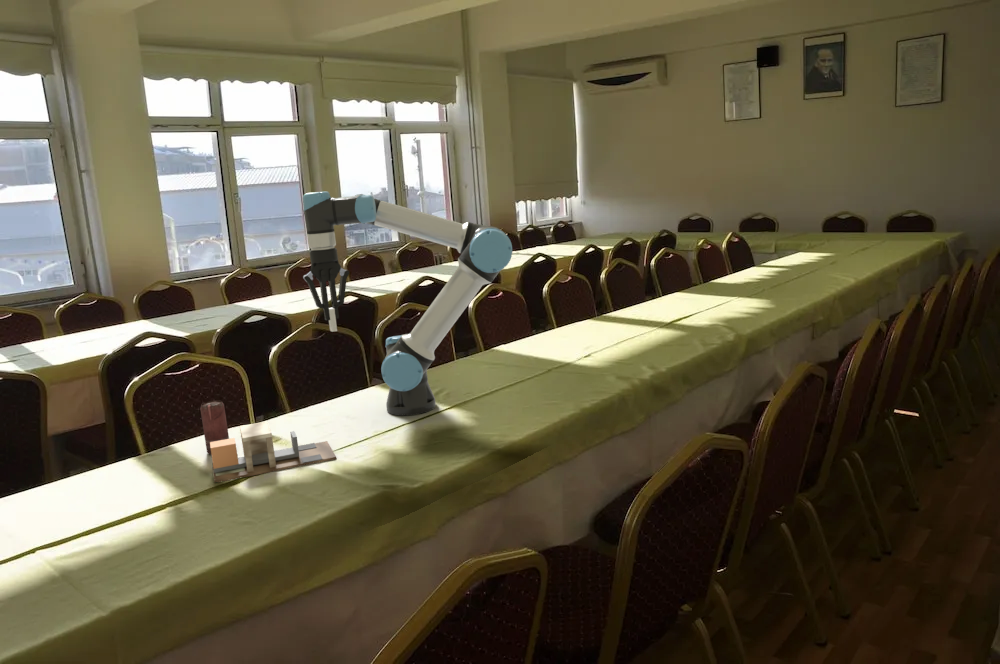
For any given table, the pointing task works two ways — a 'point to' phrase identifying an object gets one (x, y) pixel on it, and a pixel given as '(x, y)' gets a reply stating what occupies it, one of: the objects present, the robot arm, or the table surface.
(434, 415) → the table surface
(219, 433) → the can
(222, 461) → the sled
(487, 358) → the table surface
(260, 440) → the tunnel board
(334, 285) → the robot arm
